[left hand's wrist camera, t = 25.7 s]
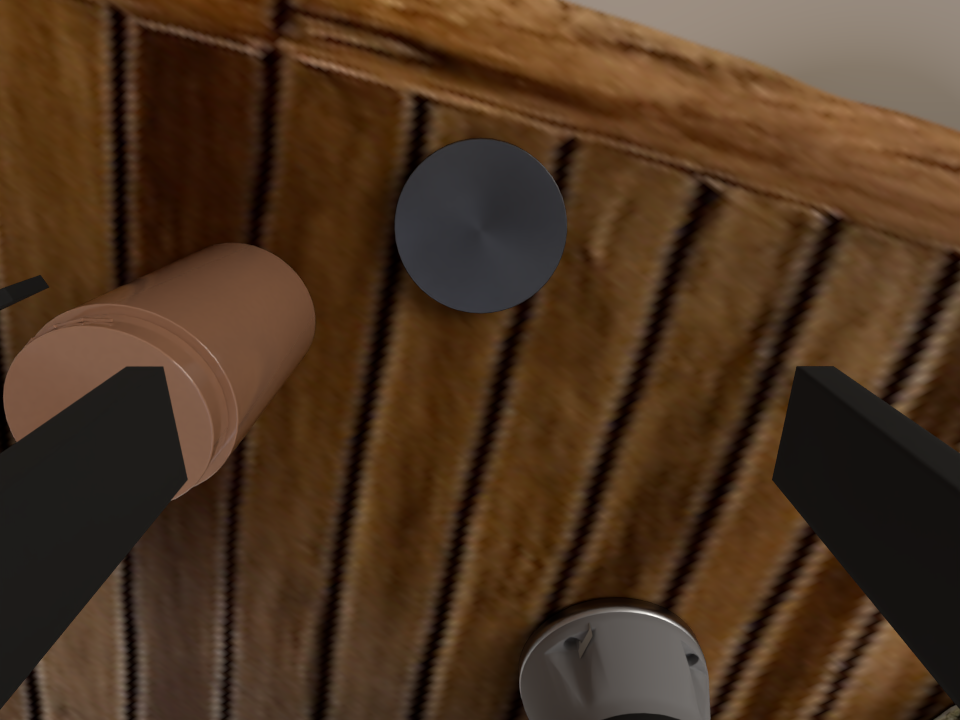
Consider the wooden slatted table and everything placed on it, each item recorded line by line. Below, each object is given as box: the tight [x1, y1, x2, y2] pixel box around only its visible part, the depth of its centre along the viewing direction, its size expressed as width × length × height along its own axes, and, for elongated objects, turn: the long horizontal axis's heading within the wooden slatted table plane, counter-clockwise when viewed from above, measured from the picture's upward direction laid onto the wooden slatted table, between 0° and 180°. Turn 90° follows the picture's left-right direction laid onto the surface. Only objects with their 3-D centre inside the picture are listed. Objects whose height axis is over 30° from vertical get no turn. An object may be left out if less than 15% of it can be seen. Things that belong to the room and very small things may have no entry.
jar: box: [3, 243, 315, 500], centre depth 31 cm, size 9×9×15 cm
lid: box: [394, 138, 567, 313], centre depth 35 cm, size 10×10×2 cm
